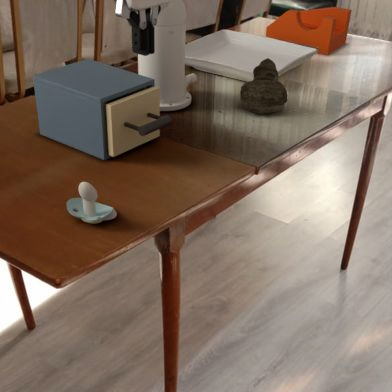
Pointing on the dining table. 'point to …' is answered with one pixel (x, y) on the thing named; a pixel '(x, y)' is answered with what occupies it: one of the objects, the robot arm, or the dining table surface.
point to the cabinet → (81, 102)
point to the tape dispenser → (313, 28)
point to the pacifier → (89, 206)
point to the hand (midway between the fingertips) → (143, 52)
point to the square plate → (243, 54)
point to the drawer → (133, 120)
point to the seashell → (264, 90)
